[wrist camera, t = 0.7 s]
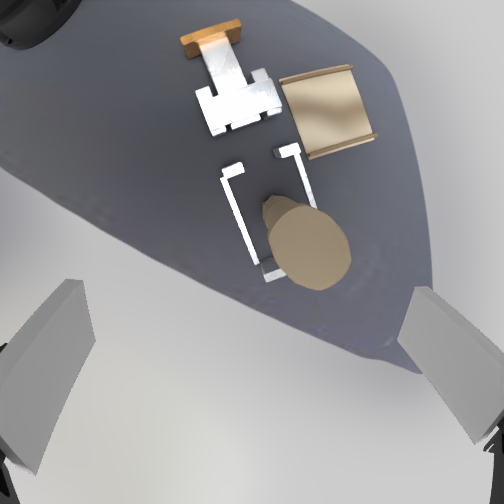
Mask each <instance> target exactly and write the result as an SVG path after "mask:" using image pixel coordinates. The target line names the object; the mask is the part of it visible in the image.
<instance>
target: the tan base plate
mask: <svg viewBox="0 0 504 504" xmlns="http://www.w3.org/2000/svg"><path fill="white" fill-rule="evenodd" d="M353 68H354V67H353V65H349V66H348V64H345V65H340V66H335V67H330V68H325V69H320V70H315V71H311V72H307V73H302V74H298V75H294V76H290V77H287V78H283V79H279V80H278V81H279V83H280V86H281V88H282V91H283V93H284V96H285V98H286V101H287V103H288V106H289V109H290V111H291V114H292V116H293V119H294V122H295V124H296V127H297V130H298V133H299V135H300V138H301V141H302V144H303V147H304V149H305V152H306V155H307V158H308V160H311V159H314V158H317V157H320V156H323V155H326V154H329V153H332V152H336V151H339V150H342V149H345V148H348V147H352V146H355V145H358V144H362V143H365V142H368V141H372V140H374V137H378V135H377V133H374V134H373V133H372V130H371V127H370V124H369V121H368V117H367V114H366V111H365V109H364V106H363V103H362V100H361V97H360V94H359V92H358V89H357V86H356V84H355V81H354V78H353V76H352V73H351V71H350V70H351V69H353Z"/></svg>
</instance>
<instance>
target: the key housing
mask: <svg viewBox="0 0 504 504" xmlns="http://www.w3.org/2000/svg"><path fill="white" fill-rule="evenodd" d="M248 83H249V85H247V86H244V87H241V88H238V89H235V90H232V91H229V92H226V93H224V94H221V95H218V96H215V97H213V96H212V94H211V91H210V89H209V86H207V87H205V88H202V89H200V90H197V91H195V93H196V95H197V98H198V100H199V103H200V105H201V108H202V110H203V113H204V115H205V118H206V120H207V123H208V126H209V128H210V131H211V133H212V135H213V137H214V138H215V137H218V136H220V135H223V134H226V129H225V126H226V125H229V124H231V123H234V122H237V121H240V120H243V119H245V118H248V117H251V116H254V115H257V114H260V113H261V115H262V118H263V120H265V119H268V118H271V117H275V116H276V115H278V114H279V113H281V112H282V110H281V108H280V107H281V106H282V104H281V101H280V99H279V96H278V94H277V91H276V89H275V86H274V84H273V82H272V79H271V78H270V79H269V78H268V76H267V73H266V71H265V69H264V68H262V69H259V70H255V71H252V72H251V73H250V76H249V79H248Z"/></svg>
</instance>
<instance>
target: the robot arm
mask: <svg viewBox="0 0 504 504" xmlns="http://www.w3.org/2000/svg"><path fill="white" fill-rule="evenodd" d="M80 1H81V0H0V41H1V43H3V44H4V45H5V46H8V47H11V48H13V49H17V50H22V49H27V48H30V47H33V46H35V45H37V44H39V43H40V42H42V41H44V40H45V39H46V38H48V37H49V36H51V35H52V34H53V33H54V32H55V31H56V30H58V29H59V28H60V27H61V26H62V25H63V24H64V23H65V22H66V20H67V19H68V18H69V17H70V16H71V14H72V13H73V12H74V10H75V9H76V8H77V6H78V5H79V3H80ZM95 341H96V340H95V336H94V332H93V328H92V324H91V319H90V315H89V310H88V305H87V301H86V296H85V290H84V284H83V280H73V279H66V280H65V281H64V282H63V283H62V284H61V285H60V286H59V287H58V288H57V289H56V290H55V291H54V292H53V293H52V294H51V295H50V296H49V297H48V298H47V299H46V300H45V302H44V303H43V304H42V305H41V306H40V307H39V308H38V309H37V310H36V311H35V312H34V314H33V315H32V316H31V317H30V318H29V319H28V320H27V322H26V323H25V324H24V325H23V326H22V327H21V329H20V330H19V331H18V332H17V333H16V334H15V336H14V337H13V338H12V339H11V341H10V342H9V343H5V344H4V345H2V346H0V504H20V502H19V500H18V497H17V494H16V492H15V489H14V486H13V483H12V481H11V477H10V474H9V471H8V469H7V467H6V465H5V464H4V463H3V462H4V460H5V457H7V458H8V459H9V460H10V461H11V462H12V463H13V464H14V465H15V466H16V467H17V468H20V469H22V470H24V471H26V472H29V473H31V474H33V475H36V474H37V472H38V469H39V466H40V463H41V460H42V458H43V455H44V452H45V450H46V447H47V444H48V442H49V439H50V437H51V434H52V432H53V430H54V427H55V425H56V422H57V420H58V418H59V415H60V413H61V411H62V409H63V406H64V404H65V402H66V400H67V398H68V395H69V393H70V391H71V388H72V387H73V384H74V383H75V380H76V378H77V376H78V374H79V372H80V370H81V368H82V366H83V364H84V362H85V360H86V358H87V357H88V355H89V352H90V351H91V349H92V347H93V345H94V343H95ZM397 341H398V342H399V343H400V345H401V346H402V347H403V348H404V350H405V351H406V352H407V353H408V355H409V356H410V357H411V358H412V360H413V361H414V362H415V364H416V365H417V366H418V367H419V369H420V370H421V371H422V373H423V374H424V375H425V377H426V378H427V379H428V380H429V382H430V383H431V384H432V386H433V387H434V388H435V390H436V391H437V392H438V394H439V395H440V396H441V398H442V399H443V401H444V402H445V403H446V405H447V406H448V407H449V409H450V410H451V411H452V413H453V414H454V416H455V417H456V418H457V420H458V421H459V423H460V424H461V426H462V427H463V429H464V430H465V431H466V433H467V434H468V436H469V437H470V439H471V440H472V442H473V443H474V444H476V443H478V442H480V441H481V440H483V439H485V438H486V437H488V435H489V434H490V433H491V432H492V431H493V429H494V428H495V427H496V426H498V428H499V430H498V431H497V432H496V434H495V435H494V436H493V437H492V438H491V439H490V441H489V442H488V443H487V444H486V445H485V447H484V450H483V451H486V450H487V449H488V448H489V447H490V446H491V445H492V444H494V445H493V446H492V447H491V448H490V450H489V452H490V453H494V469H493V481H492V490H491V498H490V504H504V353H503V352H502V351H501V350H500V349H499V348H498V347H497V346H496V345H495V344H494V343H493V342H492V341H491V340H489V339H488V338H487V337H486V336H485V335H484V334H483V333H482V332H480V330H479V329H477V328H476V327H475V326H474V325H473V324H472V323H471V322H469V321H468V320H467V319H466V318H465V317H464V316H462V315H461V314H460V313H459V312H458V311H457V310H456V309H454V308H453V307H452V306H451V305H450V304H448V303H447V302H446V301H445V300H444V299H442V298H441V297H440V296H439V295H438V294H436V293H435V292H434V291H433V290H431V289H430V288H429V287H428V286H424V287H415V288H414V292H413V295H412V298H411V301H410V304H409V307H408V311H407V313H406V316H405V319H404V322H403V325H402V328H401V331H400V333H399V336H398V339H397Z"/></svg>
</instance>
